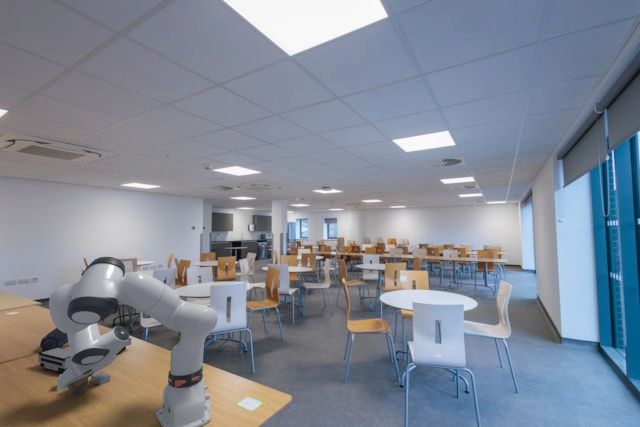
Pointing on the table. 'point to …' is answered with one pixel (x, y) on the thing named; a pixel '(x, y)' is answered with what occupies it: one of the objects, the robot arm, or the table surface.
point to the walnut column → (78, 386)
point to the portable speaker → (53, 340)
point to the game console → (61, 358)
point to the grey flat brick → (100, 378)
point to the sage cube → (60, 386)
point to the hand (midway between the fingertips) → (77, 380)
